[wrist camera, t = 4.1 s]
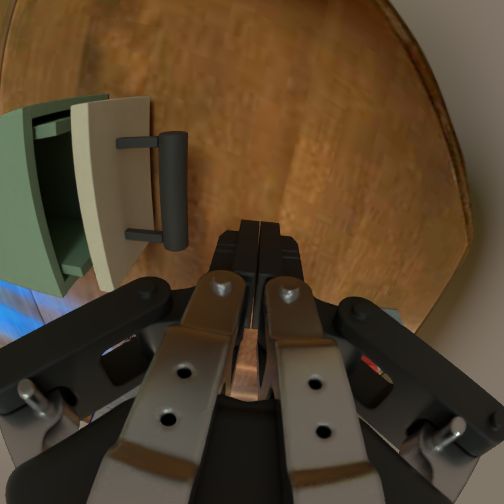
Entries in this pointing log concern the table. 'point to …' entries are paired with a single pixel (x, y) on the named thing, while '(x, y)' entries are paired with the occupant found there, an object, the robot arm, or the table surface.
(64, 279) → the cabinet casing
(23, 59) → the table surface
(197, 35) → the table surface
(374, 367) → the button
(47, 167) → the drawer
